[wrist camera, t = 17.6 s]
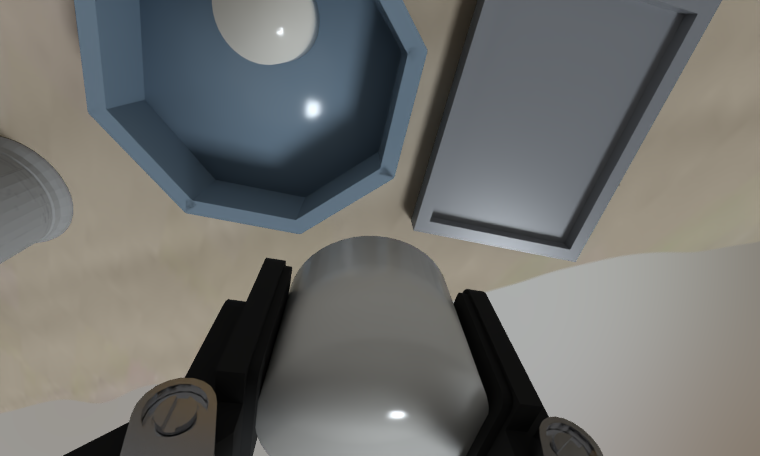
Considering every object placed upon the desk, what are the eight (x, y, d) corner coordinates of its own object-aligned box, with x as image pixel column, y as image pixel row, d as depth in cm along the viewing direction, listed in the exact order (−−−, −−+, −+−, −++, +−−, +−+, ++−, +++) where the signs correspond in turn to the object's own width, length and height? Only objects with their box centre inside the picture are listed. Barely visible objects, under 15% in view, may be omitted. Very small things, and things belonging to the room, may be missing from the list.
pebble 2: (469, 251, 11) (524, 355, 7) (424, 370, 13) (449, 497, 9) (298, 222, 10) (263, 321, 6) (281, 353, 12) (247, 483, 8)
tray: (697, 2, 23) (722, -1, 22) (564, 251, 31) (575, 262, 30) (496, -62, 21) (506, -71, 20) (411, 220, 30) (413, 230, 28)
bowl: (440, -46, 22) (458, -69, 17) (374, 218, 29) (375, 248, 25) (119, -144, 19) (49, -198, 15) (140, 172, 27) (98, 196, 23)
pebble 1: (325, -20, 21) (317, -34, 18) (313, 70, 23) (304, 74, 20) (238, -43, 21) (212, -62, 17) (235, 51, 23) (211, 52, 19)
